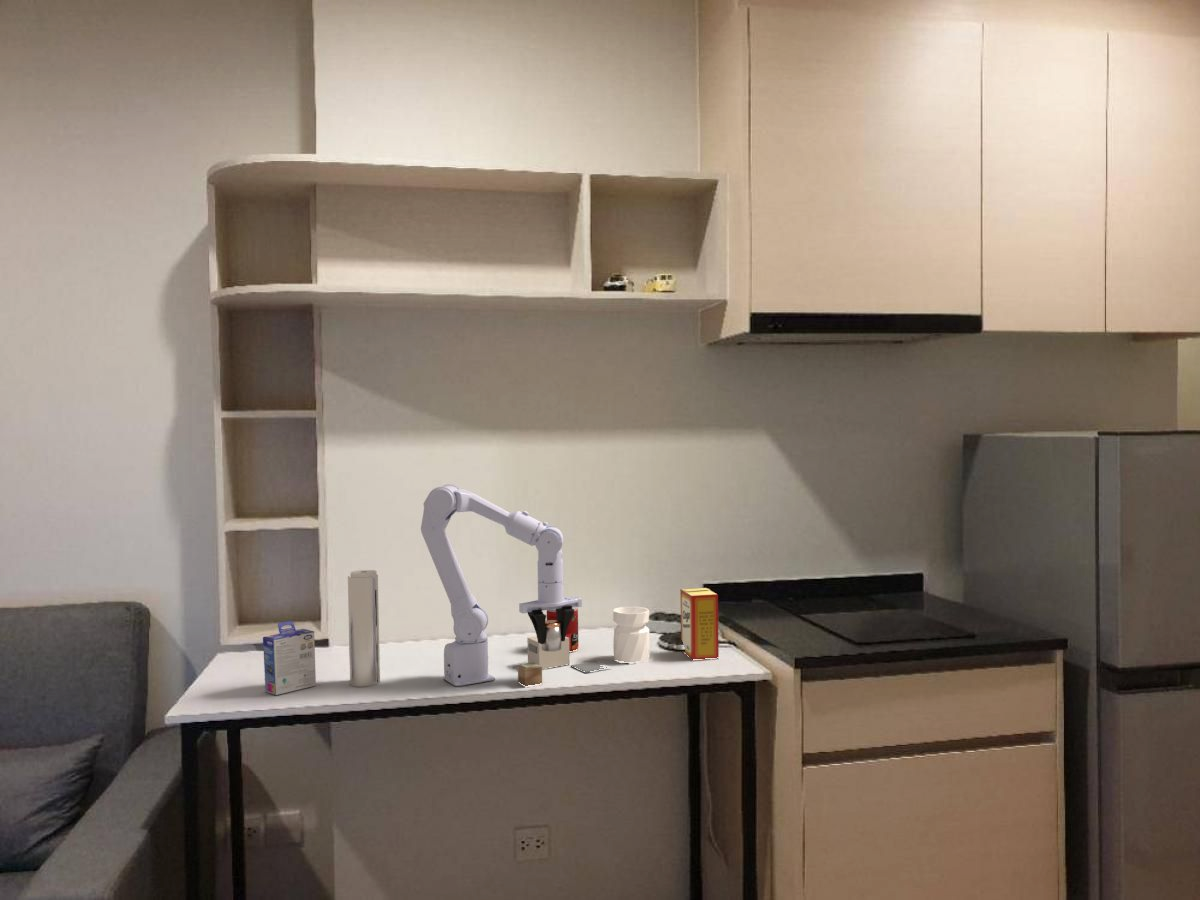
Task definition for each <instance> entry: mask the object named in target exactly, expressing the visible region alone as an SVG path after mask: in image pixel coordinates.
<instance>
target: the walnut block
mask: <svg viewBox="0 0 1200 900" xmlns="http://www.w3.org/2000/svg"><path fill="white" fill-rule="evenodd" d="M518 682H520V683H521V684H523V685H525V686H528V685H535V684H540V683H542V684H543V670H542V667H541V666H539V665H537V664H536V663H534V662H533V663H528V662H527V663H521V664H520V665H517V683H518Z"/></svg>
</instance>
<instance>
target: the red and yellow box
mask: <svg viewBox="0 0 1200 900" xmlns="http://www.w3.org/2000/svg"><path fill="white" fill-rule="evenodd" d="M679 592H680V594H679V595H680V641H681V640H682V642H683V644H684V647H685V653H686V654H687V655H688V656H689V657H690V658H691V659H692V660H693V659H705V658H717V657H719V654H720V653H719V652H720V651H719V650H720V649H719V594H717V593H715V592H714V591H712V590H711V589H710V588H707V587H697V588H695V587H694V588H693V587H692V588H680V591H679ZM689 657H688V658H689ZM690 658H689V659H690ZM691 659H690V660H691ZM692 660H691V661H692Z"/></svg>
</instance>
